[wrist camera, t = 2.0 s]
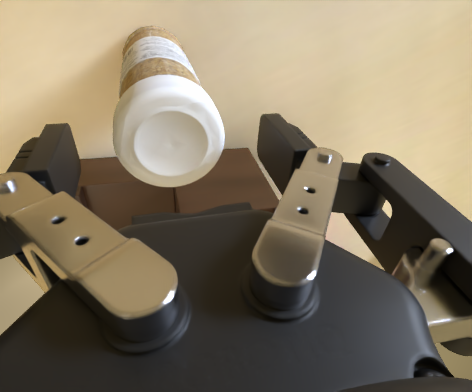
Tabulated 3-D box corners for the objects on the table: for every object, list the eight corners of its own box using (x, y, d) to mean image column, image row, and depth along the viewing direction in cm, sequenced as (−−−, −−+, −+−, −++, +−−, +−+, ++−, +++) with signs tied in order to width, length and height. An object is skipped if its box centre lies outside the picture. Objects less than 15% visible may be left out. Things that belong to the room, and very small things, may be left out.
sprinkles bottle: (164, 101, 24) (185, 205, 14) (109, 65, 22) (88, 161, 12) (197, 52, 23) (248, 131, 13) (143, 7, 20) (153, 62, 10)
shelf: (78, 159, 26) (54, 247, 18) (248, 147, 29) (289, 217, 22) (109, 266, 34) (102, 357, 26) (237, 247, 38) (264, 322, 30)
